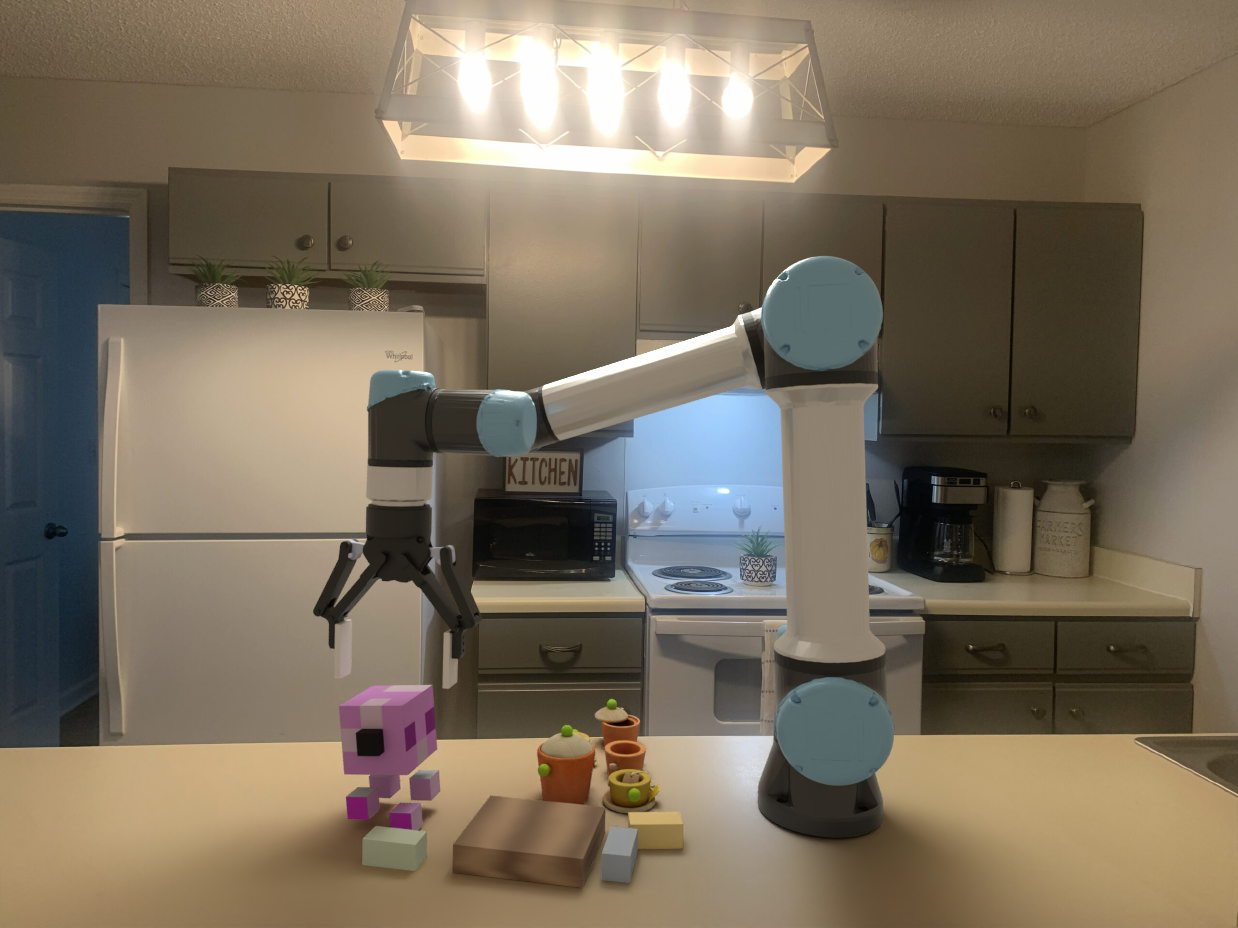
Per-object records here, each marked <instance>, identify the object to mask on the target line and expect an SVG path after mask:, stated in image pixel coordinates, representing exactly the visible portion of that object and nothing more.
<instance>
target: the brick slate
mask: <svg viewBox="0 0 1238 928" xmlns="http://www.w3.org/2000/svg"><path fill="white" fill-rule="evenodd" d="M607 834H608V835H607V837H606V840H605V843H604V846H603V849H602V852H601V870H600V872H601V873H600V874H601V875H600V880H601V881H610V882H617V883H618V882H619V883H626V884H629V883H630V882H631V879H632V877H633V872H634V868H635V864H636V861H637V857H638V849H637V848H638V829H633V828H628V827H619V826H610V829H609V832H608V833H607Z"/></svg>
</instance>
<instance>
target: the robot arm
mask: <svg viewBox="0 0 1238 928" xmlns="http://www.w3.org/2000/svg"><path fill="white" fill-rule="evenodd" d="M879 292H880V291H879V290H878V288H877V286H876V284H875V282H874V281H873V279H872V278H871V276H869V274H868V273H867V272H866V271H864V269H862V268H861V267H859V266H858V265H857V264H855V263H853V262H852V261H849V260H847V259H844V258H841V257H837V256H832V255H829V256H828V255H821V256H820V255H819V256H812V257H808V258H804V259H802V260H799V261H796V262H795V263H793V264H791V265H790V266H788V267H787V268H786V269H784V270H783V271H781V273H780V274H779V275H778V276H777V277H776V278H775V279H774V280H773V282H772V284H771V285H770V286H769V288H768V289H767V292H766V294H765V296H764V297H763V303H762V306H761V307H759V308H756V309H754V310H752V311H750V312H749V311H748V312H745V313H742V314H739V315H738V316H737V317H736V319H735V321H734V322H733V324H732V325H731V326H729V327H725V328H722V329H719V330H715V331H713V332H709V333H706V334H704V335H703V334H702V335H699V336H697V337H694V338H691V339H686V340H685V341H680V342H678V343H674V344H672V345H667V346H665V347H662V348H659V349H656V350H652V351H649V352H647V353H643V354H640V355H636V356H634V357H629V358H627V359H623V360H619V361H617V362H614V363H611V364H607V365H605V366H601V367H598V368H595V369H591V370H588V371H585V372H581V373H579V374H576V375H573V376H569V377H567V378H563V379H560V380H557V381H553V382H550V383H547V384H544V385H542V386H538V387H534V388H530V389H527V390H524V391H518V390H516V391H515V390H510V389H503V388H501V389H446V388H437V385H436V380H435V376H434V375H433V374H432V373H431V372H427V371H419V370H402V369H382V370H381V369H380V370H377V371H376V372H373V374H372V375H371V377H370V380H369V388H368V389H369V393H368V403H367V406H366V411H367V466H366V470H367V471H366V489H365V491H366V492H365V494H366V495H365V496H366V498H367V500H370V501H371V503H368V504H367V506H366V507H365V534H366V539H365V542H359V540H358V539H357V538H351V539H348V540H344V541H341V543H340V545H339V551H338V560H336V561H337V562H336V563H335V566H334V567H333V570H332V571H331V573H330V575H329V577H328V580H327V581H326V583H325V585H324V587H323V589H322V591H321V593H320V595H319V598H318V600H317V601H316V603H315V606H314V608H313V611H312V613H313V615H314V617H321V618H323V619H325V620H326V621H327V623H328V647H329V649H332V650H334V656H333V657H334V659H333V660H334V661H333V662H334V664H333V666H334V667H333V668H334V669H333V678H334V679H336V680H341V679H342V678H345V677H346V676H348V675H350V674H352V658H353V657H352V653H353V652H352V650H353V649H352V648H353V647H352V646H353V619H345V618H348V617H349V614H350V612H351V611H352V610H353V609H354V607H356V606H357V604H359V602H360V600H362V599H363V597H364V596H365V595H366V594H367V593H368V592H369V590H370V589H371V588H372V587H373V586H374V584H376V582H377V581H378V580H381V582H392V581H396V582H399V583H402V584H403V583H405V584H407V583H409V582H412V583H413V584H414V585H415V587H417V588H418V589H420V591H422V593H423V595H424V596H425V597H426V599H428V601H429V602H430V604H431V605H432V607H433V608H434V609H435V610H436V612H437V613H438V614H439V616H440V618H442V620H443V622H444V623H445V624H446V626H447V627H448V628H449V629H447V630H446V631H444V632H443V647H442V648H443V651H442V652H443V656H442V689H446V690H449V689H451V688H452V687H453V686H454V685H456V683H458V667H459V666H458V665H459V664H458V662H459V660H461V659H462V658H463V657H464V656H465V654H466V647H467V645H466V642H467V641H466V640H467V630H468V629H472V628H474V627H476V626H478V625H479V624H480V623H482V620H483V617H482V613H481V612H480V609H479V607H478V605H477V603H476V600H475V598H474V596H473V594H472V591H471V589H470V586H469V585H468V582H467V580H466V577H465V575H464V573H463V571H462V569H461V567H460V564H459V555H458V548H457V546H456V545H455V544H448V545H446V546H441V547H440V546H439V547H438V546H437V547H435V546H433V544H432V538H431V537H432V529H433V526H432V524H433V523H432V522H433V520H432V519H433V517H432V516H433V507H432V506H431V504H429V503H428V502H429V501H431V499H432V498H433V475H434V469H433V468H434V467H433V466H434V454H453V455H454V454H456V455H457V454H458V455H472V456H492V457H495V458H496V457H497V458H501V457H503V458H504V457H505V458H507V457H511V456H512V457H513V456H514V457H518V456H519V457H521V456H525V455H528V454H529V453H533V452H535V451H537V450H538V451H539V449H541V448H542V447H544V446H549V445H553V444H555V443H558V442H560V441H564V440H567V439H570V438H573V437H577V436H581V435H584V434H587V433H591V432H594V431H597V430H601V429H604V428H607V427H612V426H615V425H618V424H621V423H625V422H628V421H631V420H635V419H638V418H641V417H642V418H643V417H645V416H648V415H652V414H655V413H658V412H662V411H665V410H668V409H672V408H676V407H679V406H683V405H686V404H689V403H692V402H695V401H699V400H702V399H705V398H709V397H713V396H716V395H720V394H723V393H726V392H730V391H733V390H737V389H739V388H743V387H746V386H749V387H752V388H755V389H757V390H758V391H761V390H764V389H765V394H766V395H767V396H768V397H769V398H770V399H771V400H772V401H773V402H775V404H776V405H777V406H778V408H779V410H780V429H781V430H780V433H781V435H780V436H781V469H782V471H781V472H782V493H783V494H782V497H783V498H782V501H783V531H784V534H783V535H784V561H785V562H784V563H785V564H784V566H785V567H784V568H785V593H786V594H785V596H786V598H785V599H786V621H787V622H786V623H785V624H783V625H780V626H779V627H778V629H777V631H776V637H775V642H774V643H773V665H774V669H773V670H774V671H773V672H774V700H773V701H774V705H773V707H774V708H773V735H772V736H773V740H772V745H771V748H770V751H769V754H768V757H767V758H766V762H765V765H764V767H763V770H762V772H761V774H760V775H761V776H760V778H759V780H758V786H757V806H758V808H759V811H760V812H761V813H762V815H764V816H765V817H766V818H767V819H769V820H770V821H771V822H773V823H775V824H777V825H779V826H781V827H783V828H785V829H788V830H790V831H794V832H797V833H801V834H804V835H809V836H814V837H820V838H821V837H823V838H835V839H836V838H837V839H838V838H852V837H858V836H863V835H866V834H868V833H871V832H872V831H875V830H876V829H877V828H878V827H880V826H881V824H882V822H883V819H884V817H883V816H884V800H883V799H884V798H883V794H882V791H881V787H880V784H879V781H878V778H877V775H876V773H877V772H878V771H879V770H880V769H881V768H882V767H883V766H884V765H885V763H886V762H887V761H888V759H889V756H890V755H891V752H892V749H893V745H894V739H895V738H894V737H895V728H896V727H895V720H894V718H893V715H892V714H893V713H892V711H891V708H890V707H889V705H888V687H887V686H888V685H887V684H888V683H887V663H886V662H887V659H886V656H887V655H886V652H887V651H886V646H885V644H884V643H883V642H882V641H881V640H880V639H879V638H878V637H877V636H876V635H875V634H873V632H872V630H871V628H870V627H871V626H870V625H871V623H870V622H871V621H870V617H871V616H870V592H869V591H870V588H869V587H870V585H869V556H868V555H869V554H868V553H869V552H868V551H869V550H868V549H869V547H868V521H867V519H868V517H867V516H868V515H867V485H866V482H867V481H866V480H867V479H866V448H865V443H866V442H865V417H864V416H865V414H864V413H865V411H864V406H865V404H866V401H867V400H868V399H869V398H870V397H871V396H872V395H873V394H874V393H875V392H876V391H877V390H878V388H879V378H878V373H879V371H878V370H879V369H878V368H879V367H878V337H879V333H880V331H881V329H882V324H883V319H884V318H883V317H884V311H883V304H882V299H881V295H880V293H879ZM362 554H363V556H364V558H365V560H366V561H367V562H368V565H367V567H366V568H365V569H364V570H363V571H362V573H360V575H359V578H358V579H357V580H356V582H354V583H353V585H352V586H351V587H350V588H349V590H348V591H347V592H346V593H345V594H344V596H343V597H342V598H341V599H340V600H339V601H338V599H339V597H340V595H341V593H342V591H343V590H344V587H345V585H347V584H346V583H347V582H348V580H349V578H350V575H351V573H352V571H353V569H354V567H355V565H356V563H357V561H358V560H359V559H360V558H361V557H362ZM432 559H435V562H436V564H438V566H440V568H441V571H442V574H443V577H444V579H445V580H446V583H447V585H448V588H449V590H450V592H451V593H450V594H451V595H452V597H453V600H454V601H455V603H454V601H453V600H452V599H451V597H450V596H449V594H448V592H446V590H445V589H444V588H443V586H442V585H441V583H440V582H439V581H438V579H437V578H436V574H435V573H434V571H433V570H432V568H431V567H430V566H429V564H430V562H431V561H432ZM337 601H338V602H337Z"/></svg>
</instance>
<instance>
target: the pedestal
mask: <svg viewBox="0 0 1238 928" xmlns="http://www.w3.org/2000/svg"><path fill="white" fill-rule="evenodd" d="M463 829H464V830H462V832H461V833H460V835H459V836H458V837H457V839H456V840H455V841H453V844H452V873H454V874H463V875H470V876H471V875H472V876H480V877H485V878H486V877H487V878H496V879H505V880H512V881H520V882H521V881H522V882H530V883H539V884H546V885H555V886H556V885H557V886H563V887H571V888H573V887H574V888H582V889H583V887H584V885H585V883H586V880H587V878H588V875H589V873H590V871H591V869H592V866H593V862H594V861H595V858H596V856H597V853H598V850H599V848H600V845H601V843H602V841H603V839H604V835H605V834H606V806H601V805H599V806H598V805H591V804H590V805H589V804H571V803H561V802H551V801H544V800H539V799H530V798H519V797H508V796H499V795H498V796H497V795H491V794H490V796H489V797H488V798H487V799H486V800H485V802H484V803H483V804H482V806H481V808H480V809H479V810H478V811H477V812H476V813H475V815H474V816H473V818H472V819H471V820H470V821H469V823H468V824H467V825H466V827H465V828H463Z"/></svg>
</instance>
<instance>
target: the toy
mask: <svg viewBox="0 0 1238 928" xmlns="http://www.w3.org/2000/svg"><path fill="white" fill-rule="evenodd" d="M433 686H434V685H433V684H402V685H401V684H398V685H397V684H392V685H389V684H388V685H372V686H369V687H368V688H366V689H365V690H363V691H361V692H360V693H358V694H357V695H354V696H353V697H351V698H350V699H348V700H347V701H345V702H344V703H341V704H339V705H338V713H339V723H340V726H339V727H340V739H341V750H342V763H343V765H342V766H343V775H345V776H346V775H350V776H351V775H353V776H354V775H359V776H361V775H362V776H364V775H365V776H366V775H367V776H368V784H369V786H367V787H366V786H363V787H362V786H358V787H356V788H355V789H353V790H352V791H351V792H350V793H348V795H346V796H345V803H346V805H345V806H346V815H347V820H355V821H359V820H360V821H369V820H371V818H372V817H374V816H375V815H376V814H377V813H378V812H379V811H380V810H381V807H380V806H381V805H380V799H391V798H392V797H393V796H395V795H396V794H397V793H398V792H400V790H401V776H409V775H410V774H411V773H412V772H413V771H415V770H416V769H417V768H418V767H419V766H420V765H422V763H424V762H426V761H425V760H427V759H428V758H429V757H430V756H432V754H434V753H435V752H436V751H437V750H438V740H437V728H436V727H437V726H436V715H435V714H436V713H435V700H434V699H435V698H434V687H433ZM408 779H409V792H410V794H409V795H410V801H418V802H399V803H398V804H396V806H395V807H393V808H392V809H391V811H390V812H389V814H388V815H389V825H390V828H399V829H408V830H418V831H420V830H421V828H422V827H423V826H424V824H423V811H422V810H423V808H422V802H419V801H424V802H425V801H430V802H431V801H433V800H434V799H435V798H436V796H438V795H439V793H440V792H441V780H440V779H441V778H440V769H418V770H417V771H416V772H415V773H414V774H413V775H411V776H410V777H409V778H408Z"/></svg>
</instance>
